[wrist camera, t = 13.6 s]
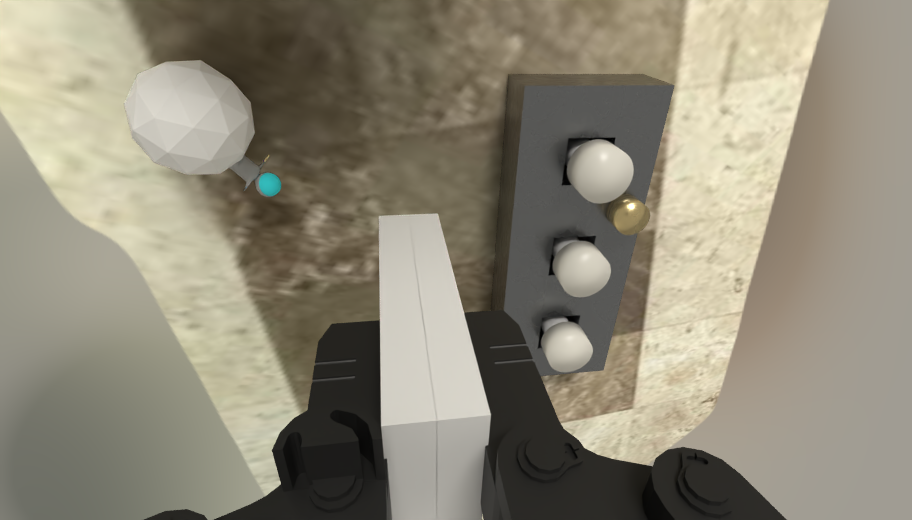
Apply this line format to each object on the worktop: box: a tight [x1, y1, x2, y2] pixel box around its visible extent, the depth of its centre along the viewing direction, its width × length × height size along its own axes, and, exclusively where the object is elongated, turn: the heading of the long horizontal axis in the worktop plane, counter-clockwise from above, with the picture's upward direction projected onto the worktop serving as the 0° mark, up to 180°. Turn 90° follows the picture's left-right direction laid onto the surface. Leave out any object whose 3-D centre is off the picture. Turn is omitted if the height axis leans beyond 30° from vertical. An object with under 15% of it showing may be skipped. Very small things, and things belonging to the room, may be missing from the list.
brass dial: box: [606, 194, 650, 235], centre depth 40 cm, size 3×3×2 cm
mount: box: [491, 74, 674, 376], centre depth 45 cm, size 30×12×5 cm, turn 179°
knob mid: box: [552, 237, 611, 297], centre depth 43 cm, size 4×4×8 cm
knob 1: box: [541, 316, 593, 372], centre depth 48 cm, size 4×4×8 cm
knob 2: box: [565, 138, 634, 204], centre depth 39 cm, size 4×4×8 cm
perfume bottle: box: [124, 60, 281, 197], centre depth 35 cm, size 8×8×12 cm
